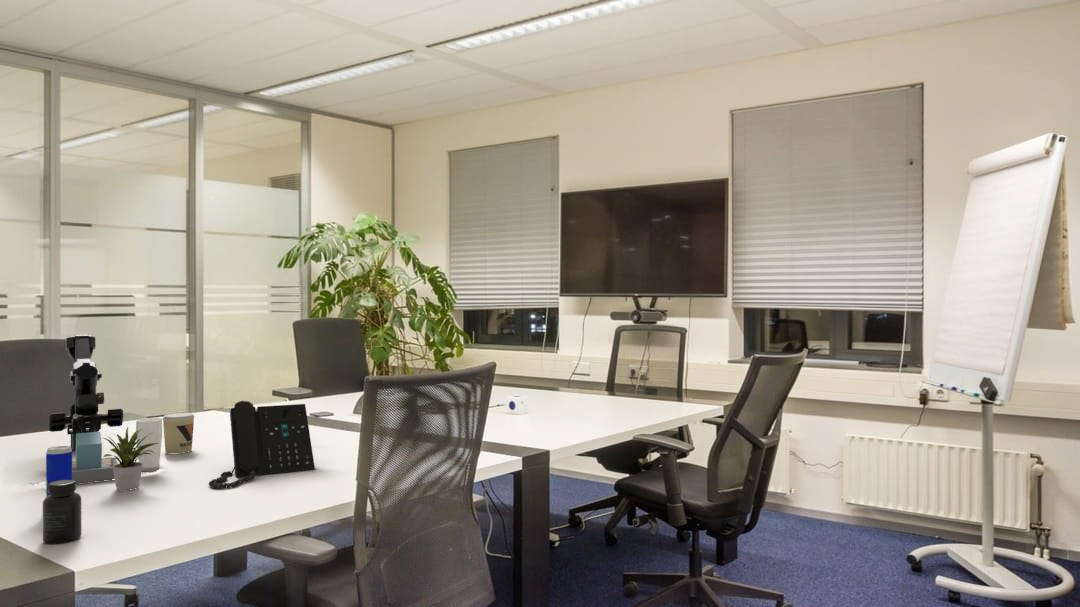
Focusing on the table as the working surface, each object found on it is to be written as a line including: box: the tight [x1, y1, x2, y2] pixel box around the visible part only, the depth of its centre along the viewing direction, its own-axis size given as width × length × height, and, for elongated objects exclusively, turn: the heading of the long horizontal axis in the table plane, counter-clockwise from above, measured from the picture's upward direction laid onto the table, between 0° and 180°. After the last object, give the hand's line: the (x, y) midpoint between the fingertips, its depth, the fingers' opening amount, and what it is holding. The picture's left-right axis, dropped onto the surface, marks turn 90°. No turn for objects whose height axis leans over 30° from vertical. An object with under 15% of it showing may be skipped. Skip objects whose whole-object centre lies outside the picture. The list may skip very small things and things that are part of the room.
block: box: [75, 431, 103, 471], centre depth 216 cm, size 7×6×9 cm
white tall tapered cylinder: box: [135, 417, 163, 473], centre depth 218 cm, size 7×7×15 cm
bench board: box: [72, 456, 112, 470], centre depth 221 cm, size 11×13×2 cm
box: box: [72, 457, 119, 485], centre depth 211 cm, size 14×13×4 cm
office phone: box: [208, 400, 316, 490], centre depth 216 cm, size 29×28×20 cm
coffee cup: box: [162, 412, 195, 454], centre depth 246 cm, size 9×9×12 cm
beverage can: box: [45, 445, 73, 498], centre depth 178 cm, size 5×5×15 cm
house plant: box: [99, 426, 158, 491], centre depth 197 cm, size 14×14×16 cm
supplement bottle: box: [42, 480, 83, 545], centre depth 157 cm, size 7×7×12 cm
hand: (88, 443), depth 218 cm, fingers closed
